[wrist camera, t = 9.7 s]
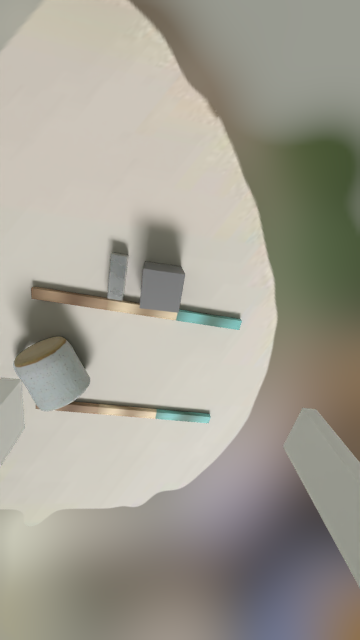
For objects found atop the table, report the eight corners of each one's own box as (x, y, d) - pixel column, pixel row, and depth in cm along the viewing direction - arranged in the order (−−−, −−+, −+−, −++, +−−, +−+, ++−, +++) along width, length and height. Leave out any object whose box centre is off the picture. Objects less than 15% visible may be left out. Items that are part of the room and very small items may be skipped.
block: (139, 308, 30) (178, 312, 31) (143, 268, 28) (185, 274, 29) (141, 296, 35) (175, 300, 35) (145, 261, 33) (181, 266, 33)
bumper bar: (109, 295, 34) (107, 298, 33) (113, 252, 32) (111, 253, 30) (123, 297, 34) (122, 300, 33) (128, 255, 32) (127, 256, 31)
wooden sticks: (37, 405, 40) (35, 408, 40) (33, 286, 33) (31, 288, 32) (207, 419, 45) (208, 423, 44) (240, 319, 37) (241, 321, 37)
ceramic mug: (71, 327, 35) (49, 355, 28) (96, 370, 39) (82, 404, 32) (7, 348, 36) (-30, 381, 29) (37, 389, 39) (9, 426, 32)
